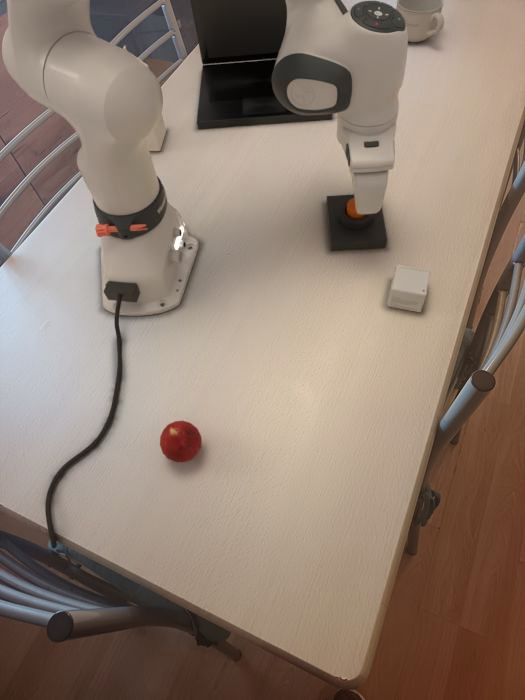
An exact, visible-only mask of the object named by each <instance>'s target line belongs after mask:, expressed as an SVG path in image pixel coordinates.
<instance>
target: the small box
mask: <svg viewBox="0 0 525 700" xmlns="http://www.w3.org/2000/svg"><path fill="white" fill-rule="evenodd" d="M430 273H431V269H430V268H424V267H418V266H411V265H406V264H399V263H396V265H395V269H394V273H393V277H392V281H391V285H390V289H389V292H388V298H387V303H386V306H387V307H388V308H389V307H390V308H394V309H400V310H404V311H405V310H406V311H411V312H415V313H421V311H422V310H423V306H424V304H425V301H426V297H427V295H428V294H427V293H428V288H429V287H428V286H429V280H430Z"/></svg>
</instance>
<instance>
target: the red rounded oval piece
mask: <svg viewBox="0 0 525 700" xmlns="http://www.w3.org/2000/svg"><path fill="white" fill-rule="evenodd" d="M159 446H160V449H161V452H162V454H163V455H164V456H165V458H166V459H167V460H170V461H173V462H174V463H186V462H189V461H191V460H193V459H194V458H195V457H196V456H197V455H198V454H199V452H200V450H201V448H202V436H201V432H200V431H199V429H198V428H197V426H195V425H194V424H192V422H189V421H185V420H176V421H173V422H170V423H168V424H167V425H166V426H165V427H164V429H163V430H162V432H161V434H160V437H159Z"/></svg>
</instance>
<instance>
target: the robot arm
mask: <svg viewBox="0 0 525 700" xmlns="http://www.w3.org/2000/svg"><path fill="white" fill-rule="evenodd" d="M285 1H286V6H287V23H286V30H285V35H284V39H283V42H282V45H281V48H280V50H279V53H278V57H277V60H276V63H275V67H274V70H273V73H272V87H273V91H274V93H275V96H276V97H277V99H278V100H279V102H280V103H281V104H282V105H283V106H284V107H285V108H287V109H288V110H289V111H291V112H293V113H296V114H300V115H324V114H332V115H333V114H337V118H336V140H337V141H338V143H339V144H340V146H341V149H342V150H343V153H344V154H345V158H346V161H347V165H348V168H349V173H350V178H351V184H352V185H351V186H352V190H353V194H354V199H355V206H356V212H357V214H374V213H377V212H379V211H380V209H381V207H382V208H383V202H384V200H385V199H384V198H385V195H386V190H387V186H388V180H389V171H390V170H391V171H392V170H393V169H394V167H395V162H396V161H395V160H396V157H395V156H396V151H395V138H396V137H395V136H396V131H397V121H398V115H399V110H400V109H399V108H400V101H399V92H400V91H401V88H402V86H403V83H404V80H405V79H404V78H405V73H406V66H407V58H408V49H409V48H408V47H409V45H408V44H409V41H408V33H407V26H406V22H405V20H404V18H403V16H402V15H401V13H400V12H399V11H398V10H396V8H395V7H394V6H392V5H391V4H389V3H387V2H383V1H379V0H362V1H359V2H357V3H355V4H354V5H353V6H351V8H349V10H348V9H347V7H346V5H345V4H344V2H343V1H342V0H285ZM90 2H91V0H6V6H7V7H6V9H7V21H8V26H7V28H6V30H5V32H4V34H3V37H2V44H1V55H2V60H3V64H4V66H5V69H6V71H7V72H8V74H9V76H10V77H11V79H13V80H14V81H15V83H16V84H17V85H18V86H19V87H20V88H21V89H22V90H23V91H24V92H25V93H26V94H27V96H29V97H30V98H31V99H32V100H34V101H35V102H37V103H39V104H40V105H42V106H43V107H45V108H47V109H49V110H51V111H52V112H54V113H55V114H57V115H59V116H60V117H61V118H63V119H65V120H66V122H67V123H69V125H70V126H71V127H72V128H73V130H74V131H75V132H76V134H77V135H78V138H79V141H80V145H81V146H80V148H79V150H78V152H77V154H76V165H77V169H78V171H79V173H80V175H81V177H82V179H83V181H84V183H85V185H86V187H87V190H88V192H89V193H90V195H91V197H92V204H93V210H94V214H95V217H96V218H97V222H98V223H97V224H96V225H95V228H94V229H95V230H94V231H95V234H96V236H97V237H98V238H99V239H100V269H101V273H100V274H101V294H102V296H101V297H102V306H103V308H104V310H106V311H108V312H110V313H111V314H114V330H115V334H116V349H117V350H116V351H117V352H116V353H117V367H116V377H115V383H114V384H115V385H114V389H113V396H112V402H111V405H110V410H109V413H108V416H107V419H106V421H105V422H104V424H103V427H102V429H101V430H100V431H99V433H98V435H97V437H96V438H95V439H94V440H93V441H92V442H91V443H90V444H89V445H88V446H86V447H85V448H84V449H83V450H81V451H80V452H79V453H77V454H76V455H74V456H73V457H71V458H70V459H69V460H68V461H66V463H64V465H62V466H61V467H60V468H59V469H58V470H57V472H56V474H55V475H54V476H53V478H52V479H51V482H50V484H49V487H48V489H47V493H46V497H45V504H44V508H45V520H46V525H47V531H48V537H49V541H50V545H51V546H50V547H51V549H53V550H54V549H56V548H57V545H58V543H57V538H56V533H55V527H54V522H53V515H52V499H53V494H54V491H55V488H56V486H57V484H58V482H59V479H60V478H61V477H62V475H64V473H65V472H66V471H67V470H68V469H69V468H70V467H71V466H72V465H74V464H75V463H76V462H78V461H79V460H80V459H82V458H84V457H85V456H86V455H87V454H88V453H90V452H91V451H92V450H94V449H95V448H96V447H97V445H98V444H99V443H100V442H101V441H102V440H103V438H104V437H105V435H106V433H107V432H108V430H109V428H110V426H111V423H112V422H113V419H114V416H115V413H116V410H117V404H118V399H119V394H120V389H121V381H122V373H123V349H122V348H123V347H122V333H121V329H120V316H128V317H137V316H139V317H141V316H142V317H143V316H150V315H151V316H152V315H157V314H162V313H165V312H168V311H171V310H173V309H175V308H176V307H178V306H180V304H181V302H182V300H183V297H184V293H185V291H186V287H187V284H188V281H189V278H190V276H191V272H192V270H193V267H194V264H195V260H196V258H197V254H198V251H199V248H200V243H199V241H198V239H197V238H196V237H193V236H192V235H190V234H189V232H188V230H187V227H186V225H185V222H184V220H183V217H182V215H181V213H180V211H179V210H178V209H177V208H175V207H174V206H173V205H172V204H171V203H170V202H169V201H168V197H167V193H166V190H165V189H166V188H165V187H164V184H163V182H162V181H161V179H160V178H159V176H158V175H157V172H156V169H155V165H154V162H153V159H152V156H151V151H149V148H148V142H147V137H149V136H150V134H151V133H152V132H153V131H154V130H155V128H156V126H157V125H158V123H159V120H160V117H161V114H162V113H163V106H164V96H163V89H162V86H161V84H160V81H159V79H158V78H157V76H156V75H155V74H154V73H153V71H151V69H150V68H149V69H148V68H147V67H146V66H145V65H144V64H142V63H141V62H140V61H139V60H138V59H139V58H138V57H137V58H138V59H137V58H135V57H136V56H135V55H134V54H133V53H131V52H130V51H129V50H127V51H126V50H124V49H123V48H122V47H120V46H117V45H115V44H113V43H111V42H109V41H107V40H104V39H102V38H100V37H98V36H97V34H96V33H95V31H94V29H93V26H92V23H91V16H90V15H91V14H90V13H91V12H90V11H91V10H90V5H91V3H90ZM129 52H130V53H131V54H130V53H129ZM133 55H134V56H135V57H134V56H133ZM162 115H163V114H162Z"/></svg>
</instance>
